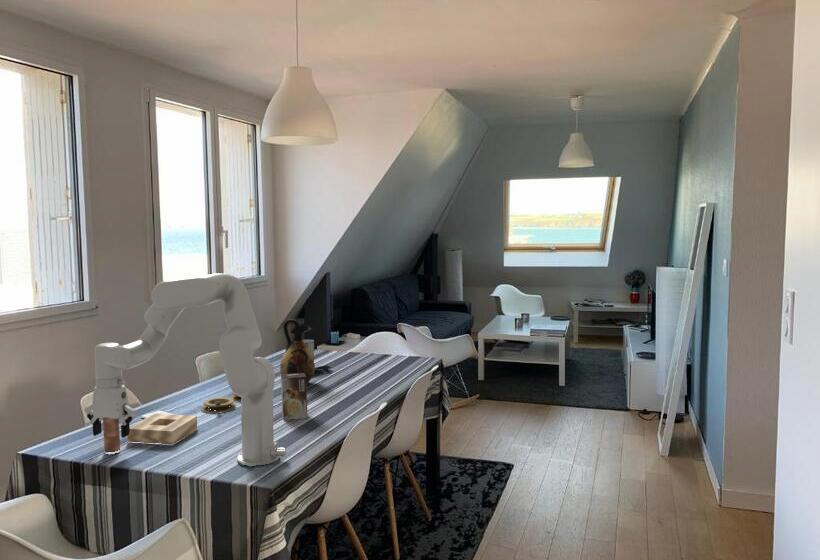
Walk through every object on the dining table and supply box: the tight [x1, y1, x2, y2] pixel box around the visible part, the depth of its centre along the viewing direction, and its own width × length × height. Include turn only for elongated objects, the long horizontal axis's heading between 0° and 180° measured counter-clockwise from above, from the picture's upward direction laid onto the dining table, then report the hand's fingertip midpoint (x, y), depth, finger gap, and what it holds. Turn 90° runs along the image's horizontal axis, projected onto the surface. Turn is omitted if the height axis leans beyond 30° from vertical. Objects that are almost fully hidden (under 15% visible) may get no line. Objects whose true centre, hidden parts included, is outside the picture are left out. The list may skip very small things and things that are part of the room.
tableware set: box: [200, 391, 241, 414], centre depth 246 cm, size 30×20×6 cm, turn 154°
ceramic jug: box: [279, 318, 316, 387], centre depth 272 cm, size 17×15×30 cm
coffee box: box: [280, 373, 308, 421], centre depth 227 cm, size 9×6×16 cm
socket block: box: [127, 414, 198, 444], centre depth 206 cm, size 16×16×5 cm
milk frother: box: [302, 339, 331, 371], centre depth 299 cm, size 14×16×15 cm
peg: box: [102, 417, 121, 452], centre depth 192 cm, size 4×4×12 cm
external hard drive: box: [140, 410, 176, 419], centre depth 226 cm, size 2×8×12 cm
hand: (111, 435), depth 192 cm, fingers open, 9 cm apart
